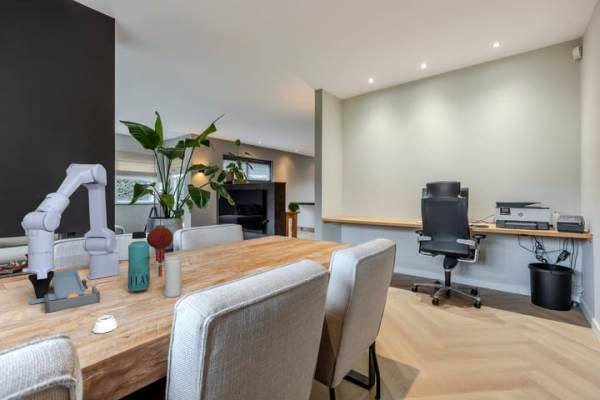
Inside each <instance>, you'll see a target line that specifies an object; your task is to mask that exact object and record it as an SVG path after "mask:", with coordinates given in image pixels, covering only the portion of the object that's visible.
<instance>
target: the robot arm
mask: <svg viewBox="0 0 600 400" xmlns="http://www.w3.org/2000/svg"><path fill="white" fill-rule="evenodd" d="M65 171H66V177H65V179H63V181H62V183H61V184H60V186H59V187H58V189H57V190H56V192H51V193H49V194H47V195H46V196H45V198H44V199H43V201H42V202H41V203H40V204H39V206H38V207H37V208H36V209H35V210H34V211H31V212H28V213H27V214H26V215H25V216H23V220H22V221H21V227H22V228H23V230H24V231H25V236H26V238H27V267H25V268H22V273H30V274H28V277H27V278H28V279H27V280H29V282H30V283H31V285H32V286H33V287H32V288H33V292H34V295H35V297H36V298H37V299H40V298H44V295H46V294H47V293H48V289H49V285H51V283H52V278H53V277H54V272H55V271H54V269H55V268H56V265H55V230H56V229H58V228H59V226H60V223H61V218H62V214H63V212H64V211H65V210H66V208H67V207H68V206H69V205H70V199H69V198H70V196H71V195H73V193H74V192H75V191H76V190H77V189H78V188H79V187H80V185H82V186H83V187H85V188H86V189H87V191H88V204H89V205H88V207H89V224H90V225H89V226H90V227H89V228H90V230H88V231H87V232H86V233H84V235H83V242H82V248H83V250H84V251H85V253H86V255H88V273H86V277H87V278H88V280H95V279H102V278H108V277H113V276H119V275H120V273H119V272H120V271H119V263H120V262H119V254H118V252H117V251H115V250H116V249H117V246H118V240H117V238H116V232H114V231H113V230H111V229H110V228H108V224H107V223H108V222H107V221H108V220H107V205H106V204H107V201H106V186H107V183H108V182H107V170H106V169H105V167H104V166H103V165H102V164H100V163H96V164H92V163H91V164H89V163H86V164H85V163H83V164H82V163H71V164H70V165H69V166H68V168H67V169H66V170H65Z"/></svg>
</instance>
